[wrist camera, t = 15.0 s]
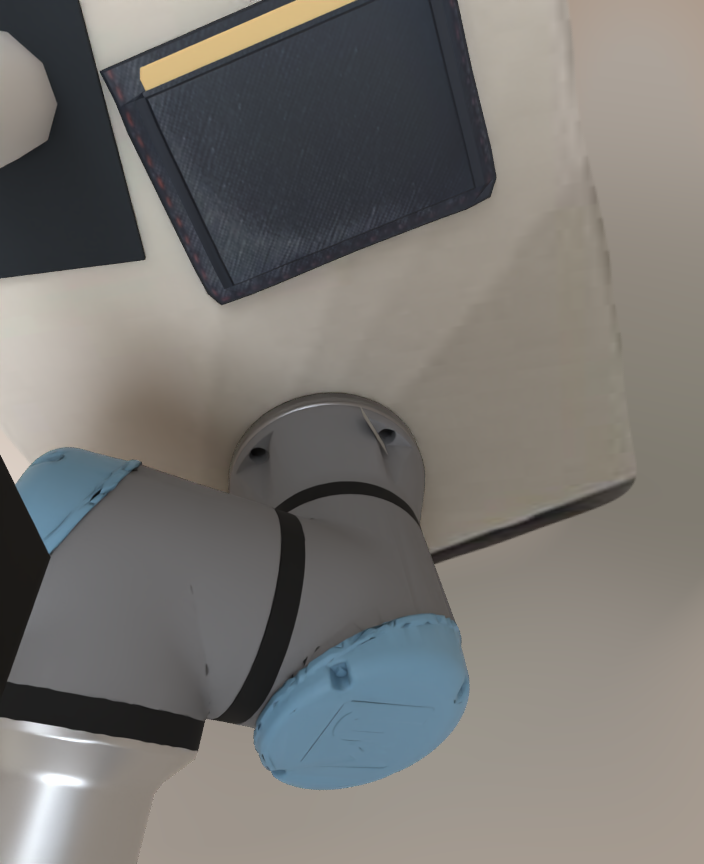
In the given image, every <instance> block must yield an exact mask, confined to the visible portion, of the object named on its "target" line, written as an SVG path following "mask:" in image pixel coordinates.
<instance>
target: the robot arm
mask: <svg viewBox="0 0 704 864" xmlns="http://www.w3.org/2000/svg"><path fill="white" fill-rule="evenodd" d="M424 488H425V470H424V464H423V459H422V456H421V454H420V451H419V448H418V446H417V443H416V441H415V439H414V437H413V435H412V433H411V432H410V430H409V429H408V427H407V426H406V425H405V423H404V422H403V421H402V420H401V419H400V418H399V417H398V416H397V415H395V414H394V413H393V412H392V411H390V410H389V409H387V408H386V407H384V406H382V405H380V404H378V403H376V402H374V401H372V400H369V399H366V398H363V397H359V396H355V395H349V394H340V393H324V394H314V395H309V396H304V397H301V398H297V399H294V400H291V401H289V402H286V403H284V404H282V405H280V406H278V407H276V408H274V409H272V410H271V411H269V412H267V413H266V414H265V415H263V416H262V417H261V418H259V419H258V420H257V421H256V422H255V423H254V424H253V425H252V426H251V427H250V428H249V429H248V430H247V431H246V433H245V434H244V435H243V437H242V438H241V440H240V441H239V443H238V445H237V447H236V449H235V451H234V453H233V456H232V460H231V464H230V469H229V493H226V492H223V491H219V490H216V489H213V488H210V487H207V486H203V485H200V484H197V483H194V482H191V481H188V480H185V479H182V478H179V477H176V476H173V475H170V474H167V473H164V472H161V471H158V470H155V469H152V468H149V467H146V466H143V465H142V462H140V461H138V460H130V461H125V460H121V459H117V458H113V457H109V456H105V455H101V454H97V453H94V452H90V451H86V450H83V449H79V448H72V447H65V448H58V449H55V450H51V451H49V452H47V453H45V454H43V455H42V456H40V457H39V458H37V459H36V460H35V461H34V462H33V463H32V464H31V465H30V466H29V468H28V469H27V470H26V471H25V472H24V473H23V475H22V476H21V477H20V479H19V480H18V482H17V483H16V484H14V482H13V480H12V478H11V476H10V474H9V471H8V469H7V467H6V465H5V463H4V461H3V459H2V457H1V455H0V864H137V860H138V857H139V853H140V848H141V845H142V841H143V837H144V833H145V829H146V825H147V821H148V816H149V813H150V809H151V805H152V801H153V797H154V794H155V793H156V792H157V790H158V789H159V788H160V786H161V785H162V784H163V783H164V782H165V781H166V780H168V779H169V778H170V777H172V776H173V775H174V774H176V773H177V772H179V771H180V770H181V769H183V768H184V767H185V766H187V765H188V764H189V763H191V762H192V761H193V760H195V758H196V755H197V752H198V749H199V744H200V740H201V736H202V731H203V727H204V723H205V720H206V719H211V720H217V721H223V722H227V723H233V724H237V725H242V726H247V727H252V728H254V729H255V730H254V745H255V749H256V751H257V752H258V753H259V757H260V759H261V762H262V764H263V765H264V766H265V768H266V769H267V770H269V771H271V773H272V775H273V776H274V777H275V778H276V779H278V780H280V781H281V782H284V783H286V784H289V785H292V786H295V787H299V788H305V789H314V790H331V789H342V788H348V787H353V786H358V785H363V784H367V783H370V782H373V781H376V780H379V779H382V778H385V777H387V776H389V775H391V774H393V773H396V772H398V771H401V770H403V769H405V768H407V767H409V766H411V765H413V764H414V763H416V762H418V761H419V760H420V759H422V758H424V757H425V756H426V755H428V754H429V753H430V752H432V751H433V750H434V749H435V748H436V747H437V746H439V745H440V744H441V743H442V742H443V741H444V740H445V739H446V738H447V737H448V736H449V735H450V733H451V732H452V731H453V730H454V728H455V727H456V725H457V724H458V722H459V721H460V719H461V717H462V715H463V713H464V710H465V708H466V705H467V701H468V696H469V675H468V671H467V667H466V664H465V659H464V656H463V652H462V648H461V635H460V631H459V628H458V627H457V624H456V622H455V620H454V617H453V614H452V612H451V609H450V606H449V603H448V601H447V598H446V595H445V593H444V590H443V588H442V585H441V582H440V579H439V576H438V574H437V571H436V568H435V566H434V563H433V560H432V557H431V555H430V552H429V549H428V547H427V544H426V541H425V538H424V536H423V533H422V530H421V527H420V518H421V511H422V503H423V496H424Z"/></svg>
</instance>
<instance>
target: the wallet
mask: <svg viewBox="0 0 704 864" xmlns="http://www.w3.org/2000/svg"><path fill="white" fill-rule="evenodd" d="M100 73H101V75H102V77H103V79H104V81H105V83H106V85H107V87H108V89H109V91H110V93H111V95H112V97H113V99H114V101H115V103H116V105H117V108H118V110H119V113H120V115H121V118H122V120H123V122H124V125H125V127H126V130H127V132H128V135H129V137H130V139H131V141H132V143H133V145H134V147H135V149H136V151H137V153H138V155H139V157H140V159H141V161H142V163H143V165H144V167H145V169H146V172H147V174H148V176H149V178H150V180H151V182H152V184H153V186H154V188H155V190H156V192H157V194H158V196H159V198H160V200H161V202H162V204H163V206H164V208H165V210H166V212H167V214H168V216H169V218H170V221H171V223H172V225H173V227H174V229H175V231H176V233H177V235H178V237H179V239H180V241H181V243H182V245H183V247H184V249H185V251H186V253H187V255H188V257H189V259H190V261H191V263H192V265H193V267H194V269H195V271H196V273H197V275H198V277H199V278H200V280H201V282H202V284H203V286H204V288H205V290H206V291H207V293H208V294H209V295H210V296H211V297H212V298H213V299H215V300H216V301H217V302H218V303H219V304H221V305H224V304H226V303H229V302H232V301H235V300H238V299H241V298H243V297H246V296H249V295H252V294H254V293H257V292H259V291H262V290H264V289H266V288H269V287H271V286H274V285H276V284H279V283H281V282H284V281H286V280H288V279H291V278H293V277H296V276H298V275H300V274H303V273H305V272H307V271H310V270H312V269H315V268H317V267H319V266H322V265H324V264H327V263H329V262H331V261H334V260H336V259H338V258H341V257H343V256H346V255H348V254H350V253H353V252H355V251H358V250H360V249H363V248H365V247H368V246H371V245H373V244H376V243H378V242H381V241H384V240H386V239H389V238H391V237H394V236H397V235H399V234H402V233H404V232H407V231H410V230H412V229H415V228H417V227H420V226H423V225H425V224H428V223H430V222H433V221H436V220H438V219H441V218H444V217H447V216H449V215H452V214H455V213H458V212H460V211H463V210H466V209H468V208H470V207H472V206H474V205H476V204H478V203H480V202H481V201H483V200H485V199H487V198H489V197H491V194H492V190H493V187H494V184H495V181H496V172H495V167H494V161H493V155H492V149H491V145H490V141H489V137H488V133H487V129H486V125H485V120H484V116H483V112H482V108H481V104H480V100H479V96H478V92H477V88H476V83H475V79H474V75H473V71H472V67H471V62H470V57H469V53H468V48H467V43H466V39H465V34H464V29H463V25H462V20H461V15H460V11H459V6H458V1H457V0H262V1H260V2H258V3H255V4H253V5H251V6H248V7H246V8H244V9H241V10H239V11H237V12H235V13H232V14H230V15H228V16H225V17H223V18H221V19H219V20H216V21H214V22H212V23H209V24H207V25H205V26H203V27H200V28H198V29H196V30H193V31H191V32H189V33H187V34H184V35H182V36H180V37H177V38H175V39H173V40H171V41H168V42H166V43H164V44H161V45H159V46H157V47H154V48H152V49H150V50H148V51H145V52H143V53H141V54H138V55H136V56H134V57H131V58H129V59H127V60H125V61H122V62H120V63H118V64H115V65H113V66H111V67H108V68H106V69H104V70H102V71H100Z"/></svg>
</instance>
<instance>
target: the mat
mask: <svg viewBox="0 0 704 864" xmlns="http://www.w3.org/2000/svg"><path fill="white" fill-rule="evenodd" d="M0 31H3V32H8V33H9V34H10V35H11V36H12V37H13V38H15V39H16V40H17V41H18V42H19V43H20V44H21V45H23V46H24V47H25V48H26V49H27V50H28V51H29V52H31V53H32V54H33V55H34V56H35V57H36V58H38V59H39V60H40V61H41V62H42V63H43V66H44V68H45V71H46V74H47V77H48V80H49V82H50V85H51V88H52V91H53V93H54V96H55V99H56V102H57V107H56V111H55V115H54V118H53V122H52V126H51V130H50V133H49V137H48V140H47V141H46V142H44V143H42V144H41V145H39V146H38V147H36V148H34V149H33V150H31V151H30V152H28V153H26V154H25V155H23V156H22V157H20V158H19V159H17V160H15V161H13V162H11V163H9V164H7V165H5V166H3V167H1V168H0V278H7V277H14V276H22V275H30V274H38V273H46V272H54V271H62V270H69V269H77V268H85V267H93V266H101V265H109V264H117V263H125V262H132V261H140V260H145V254H144V250H143V246H142V242H141V238H140V234H139V231H138V227H137V223H136V219H135V215H134V211H133V207H132V204H131V200H130V196H129V192H128V188H127V184H126V180H125V176H124V173H123V169H122V165H121V161H120V157H119V153H118V149H117V146H116V142H115V138H114V134H113V130H112V126H111V122H110V119H109V115H108V111H107V107H106V103H105V99H104V95H103V92H102V88H101V84H100V80H99V76H98V72H97V68H96V64H95V61H94V57H93V53H92V49H91V45H90V41H89V37H88V34H87V30H86V26H85V22H84V18H83V14H82V10H81V7H80V3H79V0H0Z"/></svg>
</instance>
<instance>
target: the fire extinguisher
mask: <svg viewBox="0 0 704 864" xmlns="http://www.w3.org/2000/svg"><path fill="white" fill-rule="evenodd" d="M56 107H57V102H56V99H55V96H54V93H53V91H52V88H51V85H50V82H49V80H48V77H47V74H46V71H45V68H44V66H43V63H42V62H41V61H40V60H39V59H38V58H36V57H35V56H34V55H33V54H32V53H31V52H29V51H28V50H27V49H26V48H25V47H24V46H23V45H21V44H20V43H19V42H18V41H17V40H16V39H15V38H13V37H12V36H11V35H10V34H9V33H8V32H3V31H0V168H1V167H3V166H5V165H7V164H9V163H11V162H13V161H15V160H17V159H19V158H20V157H22V156H23V155H25V154H26V153H28V152H30V151H31V150H33V149H34V148H36V147H38V146H39V145H41V144H42V143H44V142H46V141H47V140H48V137H49V133H50V130H51V126H52V122H53V118H54V115H55V111H56Z"/></svg>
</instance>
